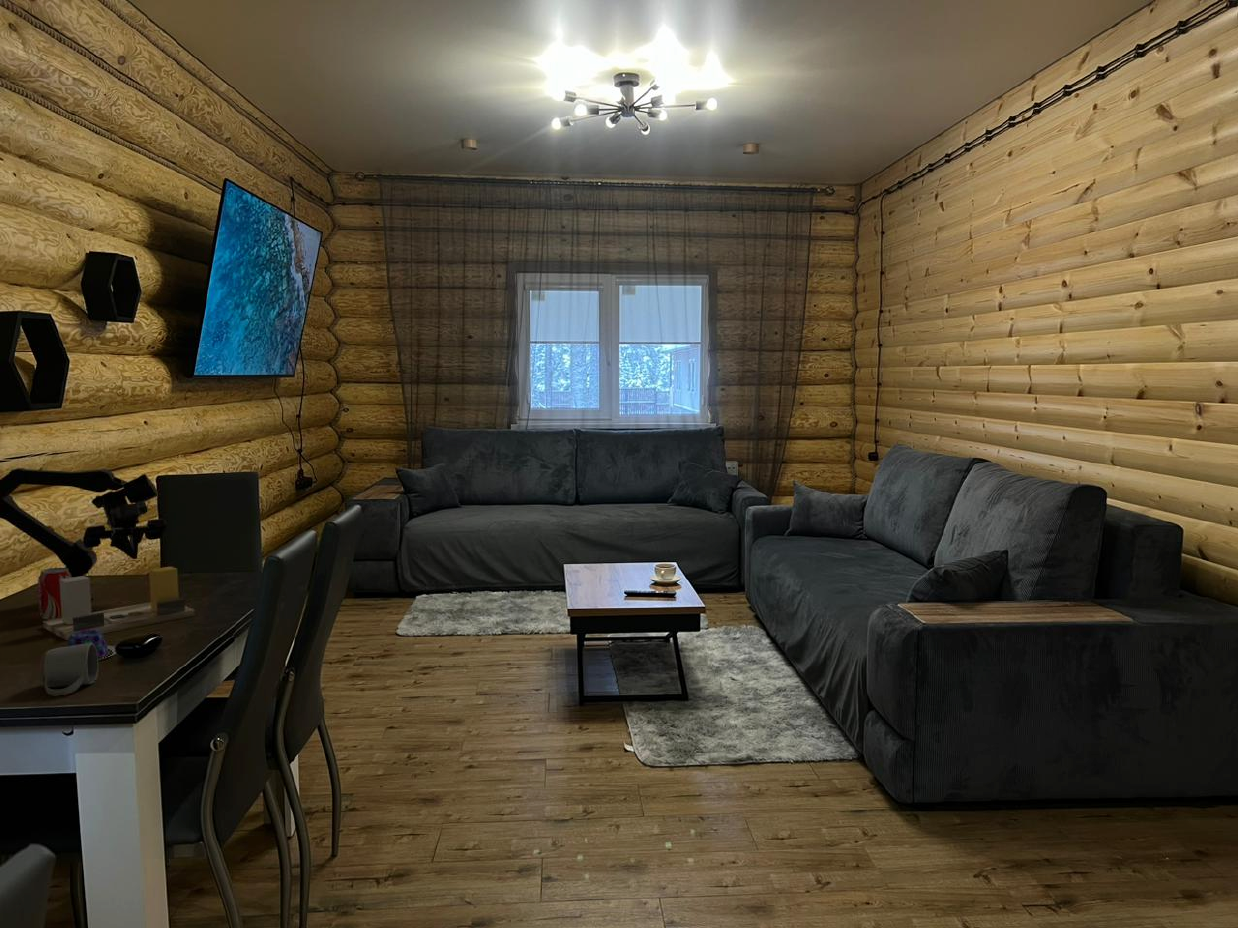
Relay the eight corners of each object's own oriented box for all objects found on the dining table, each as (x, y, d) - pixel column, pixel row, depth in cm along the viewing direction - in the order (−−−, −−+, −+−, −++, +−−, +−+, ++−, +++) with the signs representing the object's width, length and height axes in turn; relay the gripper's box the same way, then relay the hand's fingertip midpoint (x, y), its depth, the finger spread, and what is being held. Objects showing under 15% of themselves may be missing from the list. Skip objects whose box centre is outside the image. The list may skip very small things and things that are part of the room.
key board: (43, 627, 204) (41, 608, 204) (167, 604, 225) (166, 587, 225) (66, 640, 194) (65, 620, 193) (194, 615, 215) (193, 597, 214)
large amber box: (151, 609, 213) (149, 569, 212) (172, 605, 217) (170, 566, 216) (157, 612, 211) (155, 571, 210) (179, 608, 215) (177, 568, 214)
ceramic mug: (51, 680, 167) (49, 641, 167) (100, 676, 170) (97, 637, 169) (34, 700, 157) (31, 659, 157) (85, 695, 160) (83, 654, 159)
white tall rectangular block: (61, 621, 203) (59, 579, 202) (85, 617, 206) (83, 575, 205) (67, 624, 200) (65, 581, 199) (91, 620, 204) (89, 578, 203)
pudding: (56, 670, 174) (54, 645, 174) (49, 656, 184) (48, 631, 183) (124, 658, 182) (123, 634, 181) (114, 645, 191) (113, 622, 191)
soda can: (57, 622, 208) (54, 573, 207) (32, 621, 210) (29, 572, 209) (81, 615, 215) (78, 567, 214) (57, 613, 217) (54, 566, 216)
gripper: (83, 495, 219) (101, 544, 212) (162, 488, 232) (181, 534, 226) (75, 523, 225) (92, 571, 218) (152, 514, 238) (170, 559, 232)
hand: (135, 558), depth 224 cm, fingers closed
